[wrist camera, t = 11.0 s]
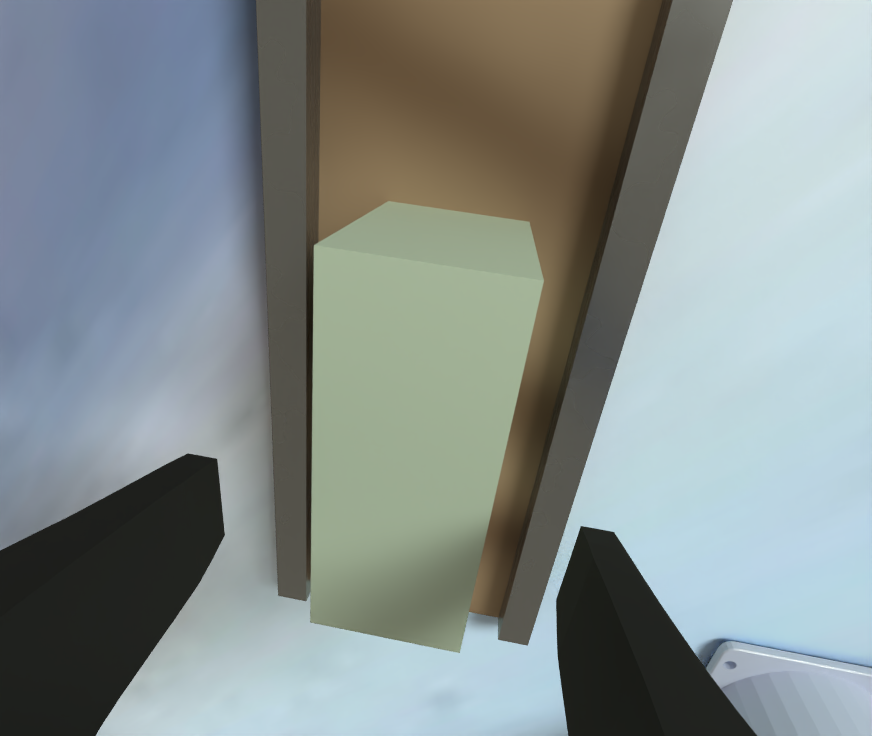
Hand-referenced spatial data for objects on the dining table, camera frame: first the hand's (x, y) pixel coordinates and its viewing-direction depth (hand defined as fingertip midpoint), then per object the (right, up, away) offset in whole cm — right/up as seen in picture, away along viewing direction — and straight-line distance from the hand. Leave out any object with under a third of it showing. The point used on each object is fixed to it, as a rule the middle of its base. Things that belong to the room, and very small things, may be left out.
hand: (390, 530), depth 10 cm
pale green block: (+1, +3, +6) cm, 7 cm away
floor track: (+1, +3, +7) cm, 8 cm away
